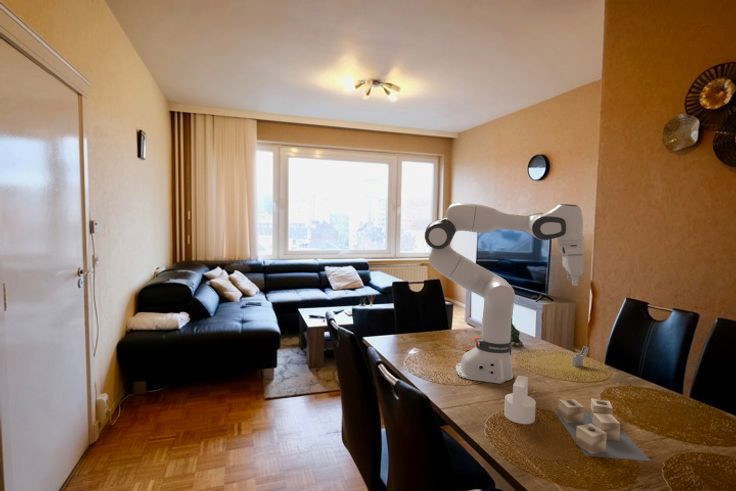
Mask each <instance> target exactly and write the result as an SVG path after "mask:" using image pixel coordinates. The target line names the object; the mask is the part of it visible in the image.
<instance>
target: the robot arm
mask: <svg viewBox="0 0 736 491" xmlns="http://www.w3.org/2000/svg"><path fill="white" fill-rule="evenodd" d="M583 219H584V218H583V213H582V209H581V207H580V206H578V205H577V204H570V203H569V204H568V203H560V204H558V205H556V206H555V207H554V208H553V209H551V210H549V211H547V212H545V213H543V212H539V213H533V214H529V215H521V214H520V215H519V214H511V213H505V212H502V211H499V210H498V209H496V208H493V207H490V206H488V205H483V204H476V203H467V202H465V203H461V202H460V203H453V204H450V205H449V206H448V208H447V209H446V211H445V215H444V218H443V219H436V220H433V221H431V222H429V224H428V225H427V226H426V228H425V232H424V240H425V242H426V244H427V246H429V247H430V248H431V252H430V253H429V256H428V263H429V265H430V266H431V267H432V268H433V269H434V270H436V271H437V272H438V273H439V274H441V275H442V276H443V277H445V278H446V279H448V280H450V281H452V283H455V284H456V285H458V286H460V287H461V288H463V289H465V290H467V291H470V292H472V293H474V294H475V295H477V296H479V297H481V298H483V312H482V318H481V337H479V336H474V337H473V341H474V342H475V347H473V348H471V349H470V350H468V351H466V352H465V353H464V354H463V355H462V357H461V362H459V363H457V364H456V365H455V368H456V370H455V373H456V372H457V373H456V375H457V374H458V375H459V376H458V375H457V376H458V377H460V378H461V377H462V378H461V379H464V378H466V380H472V381H479V382H485V383H486V382H487V383H492V384H493V383H494V384H500V385H501V384H503V383H504V382H507V381H510V380H512V379H513V378H514V374H513V373H514V372H513V369H512V362H511V361H512V360H511V355H512V351H513V350H512V348H513V346H512V344H511V341H510V337H511V322H512V319H513V315H514V314H513V313H514V307H515V297H516V295H515V294H516V293H515V289H514V288H513V286H512V285H511V284H509V282H507V280H506V279H504V278H503V277H501V276H499V275H498V274H496V273H495V272H492V271H491V270H489V269H487V268H485V267H483V266H481V265H479V263H478V264H477V263H476V262H474V261H472V260H471V259H470V258H468V257H466V256H464V255H463V254H461V253H459V252H457V251H456V250H454V248H452V247H451V243H452V240H453V238H454V237H455V234H456V232H457V233H458V232H461V231H463V232H469V233H476V234H477V233H478V234H479V233H480V234H481V233H482V234H483V233H488V234H489V233H492V232H494V231H497V230H510V231H518V232H519V231H520V232H524V233H526V234H528V235H529V236H532V237H533V238H536V239H538V240H540V241H551V240H553V239H556V241H557V242H556V244H557V252H558V253H561V259H562V260H561V263H562V267H563V268H564V269H565V271H566V277H567V280H568V281H571V285H572V286H573V287H577V286H579V278H580V277H581V276H583V274H584V259H585V258H584V257H585V256H584V255H585V254H586V248H585V238H584V237H585V236H584V235H583V234H584V233H583V229H584V220H583Z"/></svg>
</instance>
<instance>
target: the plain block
mask: <svg viewBox="0 0 736 491" xmlns="http://www.w3.org/2000/svg"><path fill="white" fill-rule="evenodd" d="M592 425H594V426H596V427H597V428H599V429H601V430H602V431H604V432H606V433H607V438H606V440H615V441H619V438H620V429H621V423H620V421H618V420H617V419H616V418H615V416H613V414H612V415H611V414H598V413H593V424H592Z"/></svg>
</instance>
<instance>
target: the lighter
mask: <svg viewBox="0 0 736 491" xmlns="http://www.w3.org/2000/svg"><path fill="white" fill-rule="evenodd" d="M589 349H590V347H588V346H586V345H583V346H582V348H581V352H580V353H579V352H576V353H575V354H574V355H572V366H573V367H576V368H577V367H582V366H584V365H583V364H584V357H585V358H586V357H587V355H588V352H589Z"/></svg>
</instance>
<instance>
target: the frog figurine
mask: <svg viewBox="0 0 736 491" xmlns="http://www.w3.org/2000/svg"><path fill="white" fill-rule="evenodd" d="M510 341H511V344H512V347H521V348H522V347H523V346H524V345H523V341H521V340H520V330H519V329H517V328H516V327H515V325H514V324H513V322H512V321H511V337H510ZM528 346H529V345H528ZM528 346H527V345H526V347H528Z"/></svg>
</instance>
